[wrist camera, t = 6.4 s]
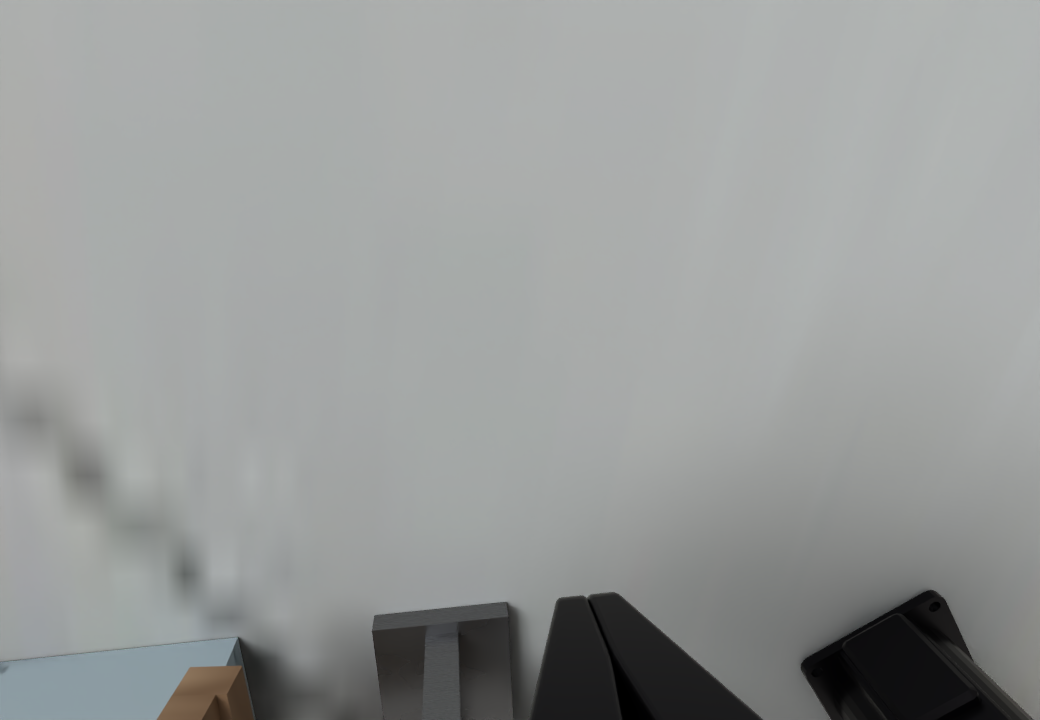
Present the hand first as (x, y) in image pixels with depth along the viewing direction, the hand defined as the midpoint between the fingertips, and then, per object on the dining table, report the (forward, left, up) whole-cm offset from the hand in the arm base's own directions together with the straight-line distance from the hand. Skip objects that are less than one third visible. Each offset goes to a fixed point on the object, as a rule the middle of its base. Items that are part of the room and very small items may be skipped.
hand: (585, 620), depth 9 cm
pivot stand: (-12, +10, -13) cm, 20 cm away
